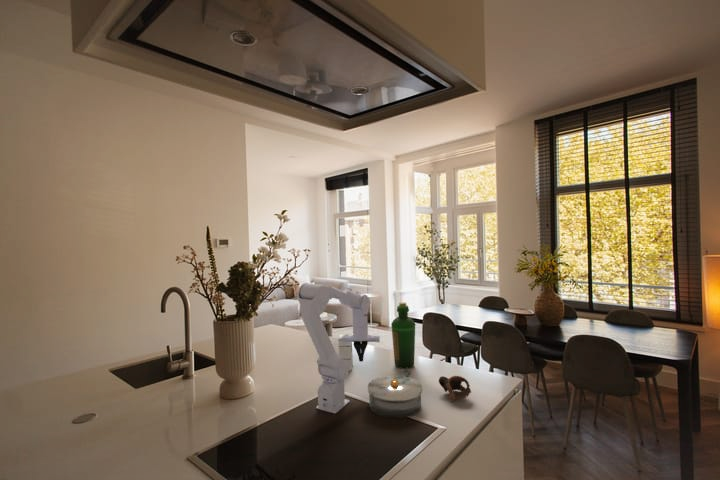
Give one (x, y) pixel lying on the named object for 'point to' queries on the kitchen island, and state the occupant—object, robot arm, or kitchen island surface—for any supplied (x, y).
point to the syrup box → (346, 351)
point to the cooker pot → (395, 407)
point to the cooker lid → (395, 388)
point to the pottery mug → (455, 387)
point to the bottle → (403, 338)
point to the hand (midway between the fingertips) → (361, 360)
